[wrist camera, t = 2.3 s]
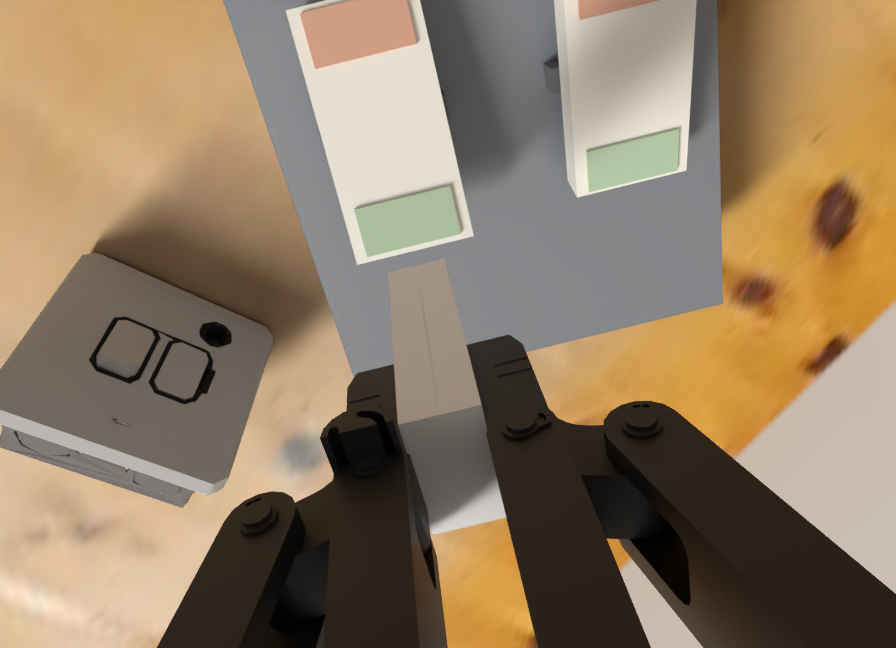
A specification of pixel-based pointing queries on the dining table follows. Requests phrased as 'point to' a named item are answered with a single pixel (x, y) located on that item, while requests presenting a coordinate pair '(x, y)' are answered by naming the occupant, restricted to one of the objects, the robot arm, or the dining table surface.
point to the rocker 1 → (382, 124)
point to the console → (506, 188)
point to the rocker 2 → (624, 89)
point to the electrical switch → (133, 383)
